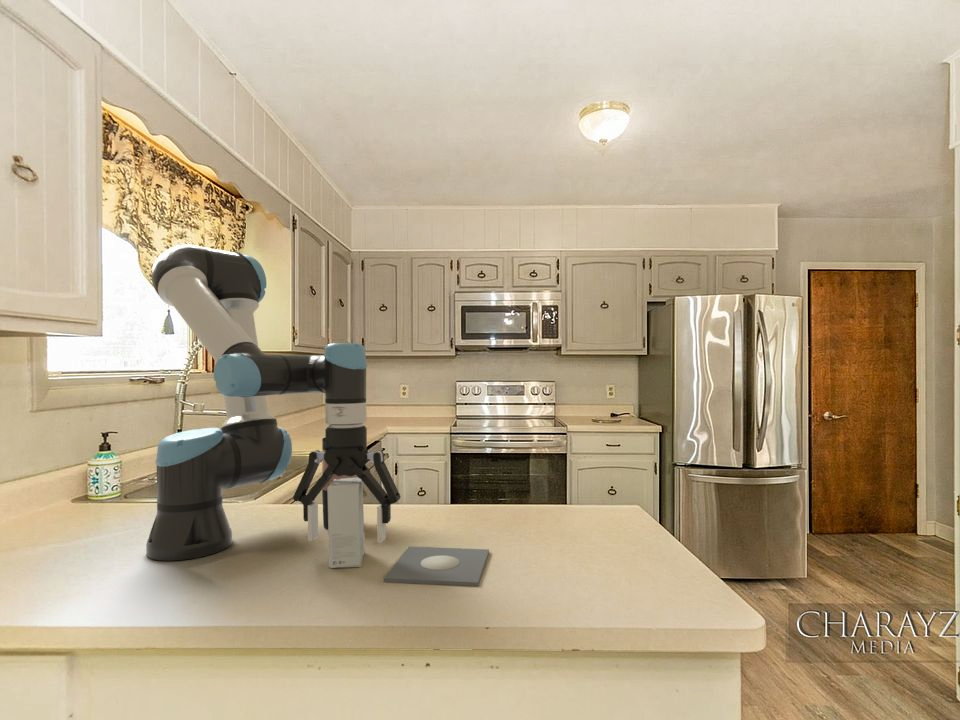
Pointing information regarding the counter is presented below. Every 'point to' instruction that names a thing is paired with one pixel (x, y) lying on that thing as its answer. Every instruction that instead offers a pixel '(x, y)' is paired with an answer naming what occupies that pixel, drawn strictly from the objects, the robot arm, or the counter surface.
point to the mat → (439, 566)
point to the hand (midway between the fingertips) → (347, 539)
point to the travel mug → (324, 490)
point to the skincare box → (345, 522)
